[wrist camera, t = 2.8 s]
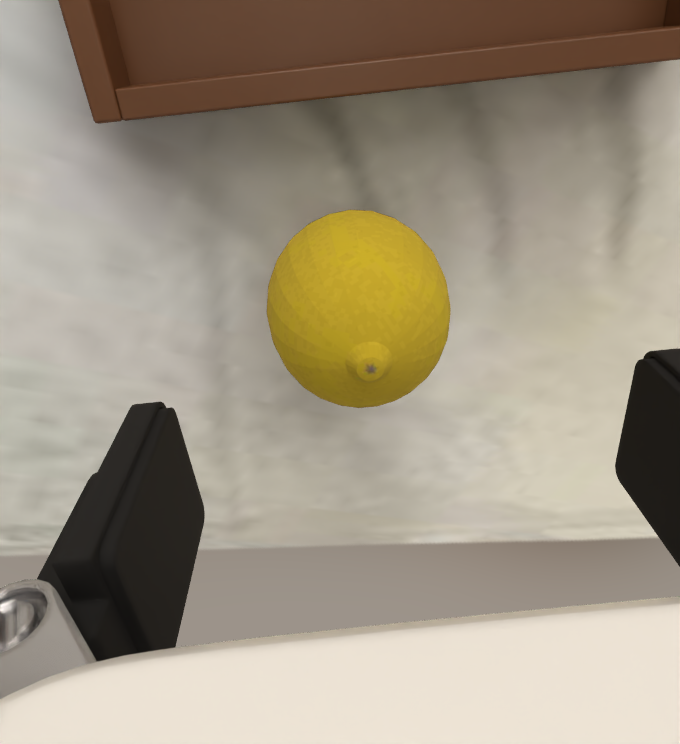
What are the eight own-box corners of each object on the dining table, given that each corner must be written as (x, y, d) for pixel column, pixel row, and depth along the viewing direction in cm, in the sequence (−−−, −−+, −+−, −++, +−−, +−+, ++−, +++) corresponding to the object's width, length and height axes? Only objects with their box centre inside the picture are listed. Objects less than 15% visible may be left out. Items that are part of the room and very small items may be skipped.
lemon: (452, 256, 21) (527, 361, 14) (350, 354, 23) (370, 489, 16) (345, 149, 19) (370, 210, 12) (241, 267, 20) (211, 379, 14)
